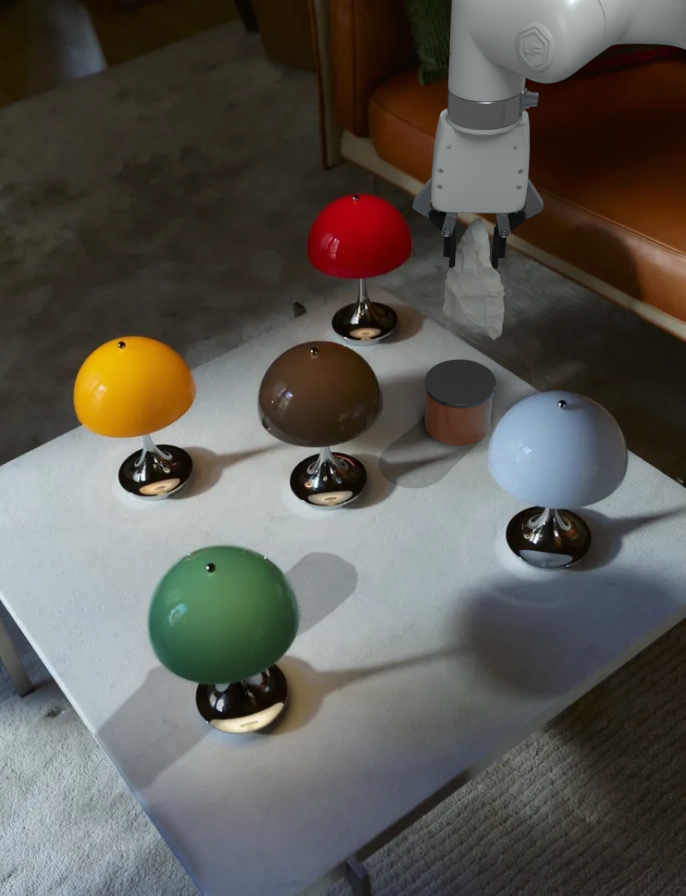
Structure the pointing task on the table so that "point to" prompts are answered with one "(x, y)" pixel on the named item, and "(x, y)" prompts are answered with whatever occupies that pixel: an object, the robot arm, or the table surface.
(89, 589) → the table surface
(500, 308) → the stone tool
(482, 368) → the canister
